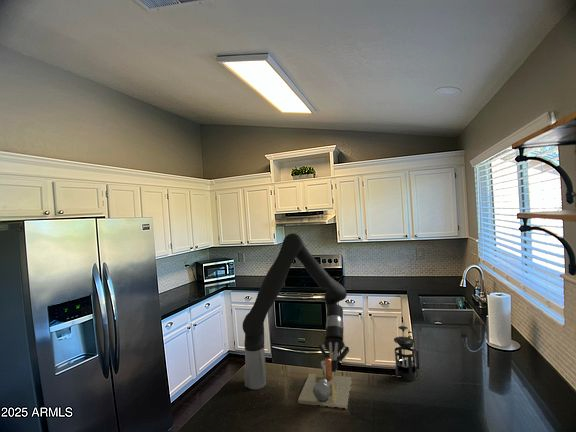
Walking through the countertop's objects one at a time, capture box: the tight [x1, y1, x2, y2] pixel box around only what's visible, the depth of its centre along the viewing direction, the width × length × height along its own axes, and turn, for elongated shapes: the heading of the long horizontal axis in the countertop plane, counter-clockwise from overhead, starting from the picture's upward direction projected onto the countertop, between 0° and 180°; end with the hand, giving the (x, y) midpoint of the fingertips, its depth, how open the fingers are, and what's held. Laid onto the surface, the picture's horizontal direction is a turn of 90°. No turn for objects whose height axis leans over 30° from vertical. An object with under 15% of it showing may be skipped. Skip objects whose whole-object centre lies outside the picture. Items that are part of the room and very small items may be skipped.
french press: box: [393, 325, 420, 382], centre depth 143 cm, size 12×9×23 cm
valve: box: [297, 367, 352, 410], centre depth 134 cm, size 20×22×12 cm
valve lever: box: [320, 356, 332, 384], centre depth 125 cm, size 17×3×9 cm, turn 1°
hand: (333, 371), depth 119 cm, fingers closed
